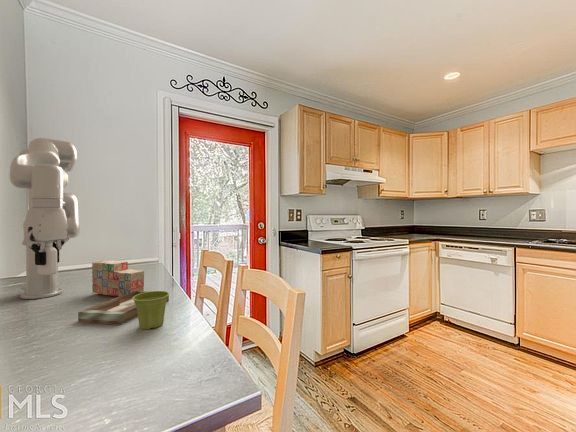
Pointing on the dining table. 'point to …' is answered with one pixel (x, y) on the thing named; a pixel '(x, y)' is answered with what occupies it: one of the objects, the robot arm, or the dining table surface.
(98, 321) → the divided wooden tray
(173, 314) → the dining table surface
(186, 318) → the dining table surface
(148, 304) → the plant pot
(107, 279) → the stack of blocks
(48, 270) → the eye dropper bottle
